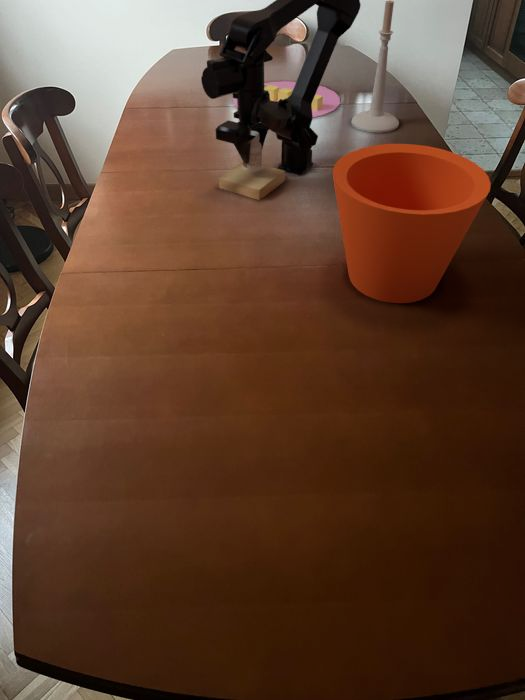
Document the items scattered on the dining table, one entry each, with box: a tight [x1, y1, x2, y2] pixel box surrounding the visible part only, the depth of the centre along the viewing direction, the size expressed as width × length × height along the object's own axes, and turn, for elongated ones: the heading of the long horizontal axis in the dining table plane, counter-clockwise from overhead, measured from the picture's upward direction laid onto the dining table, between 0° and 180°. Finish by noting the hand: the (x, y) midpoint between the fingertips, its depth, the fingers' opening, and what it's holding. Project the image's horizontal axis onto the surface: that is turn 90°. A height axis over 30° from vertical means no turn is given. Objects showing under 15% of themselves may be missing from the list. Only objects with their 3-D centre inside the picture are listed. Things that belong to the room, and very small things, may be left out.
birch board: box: [218, 162, 286, 201], centre depth 135 cm, size 11×11×2 cm
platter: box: [232, 80, 341, 119], centre depth 175 cm, size 32×32×3 cm
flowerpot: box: [332, 143, 492, 304], centre depth 102 cm, size 25×25×20 cm
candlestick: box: [351, 0, 400, 134], centre depth 152 cm, size 13×13×30 cm
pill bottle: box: [241, 131, 263, 171], centre depth 131 cm, size 4×4×8 cm
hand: (252, 159), depth 132 cm, fingers closed on pill bottle, 4 cm apart
